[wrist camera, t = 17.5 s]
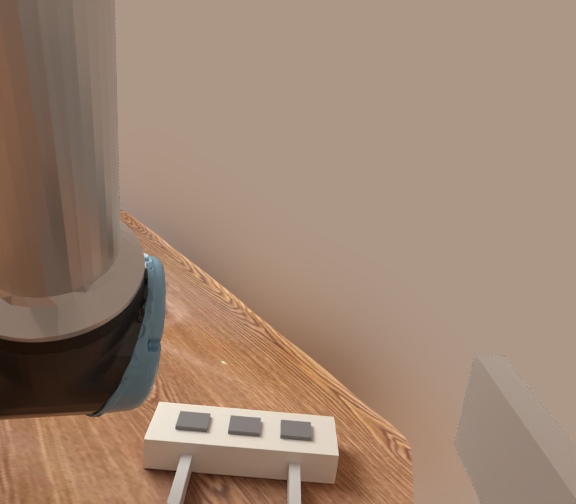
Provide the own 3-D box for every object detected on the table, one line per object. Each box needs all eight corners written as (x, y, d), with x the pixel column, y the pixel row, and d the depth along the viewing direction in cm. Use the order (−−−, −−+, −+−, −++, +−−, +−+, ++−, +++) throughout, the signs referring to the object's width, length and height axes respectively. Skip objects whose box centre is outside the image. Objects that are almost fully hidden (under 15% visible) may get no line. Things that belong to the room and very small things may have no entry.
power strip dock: (108, 559, 40) (108, 521, 39) (158, 428, 55) (159, 398, 54) (345, 578, 40) (351, 541, 39) (330, 443, 56) (334, 413, 54)
